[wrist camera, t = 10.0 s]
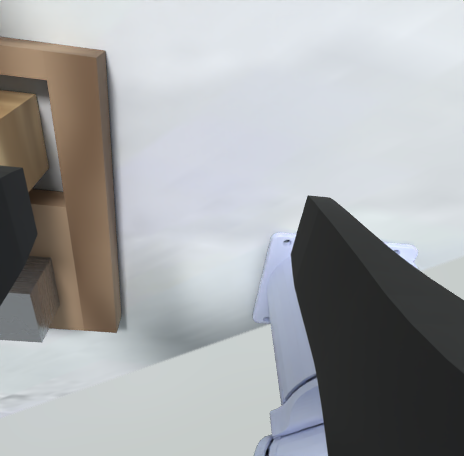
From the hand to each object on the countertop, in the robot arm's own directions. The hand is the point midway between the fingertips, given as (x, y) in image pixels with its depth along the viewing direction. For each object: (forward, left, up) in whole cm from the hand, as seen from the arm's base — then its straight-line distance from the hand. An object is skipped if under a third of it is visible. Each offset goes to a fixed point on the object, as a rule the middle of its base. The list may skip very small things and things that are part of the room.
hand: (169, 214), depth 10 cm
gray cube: (+10, +12, -10) cm, 19 cm away
